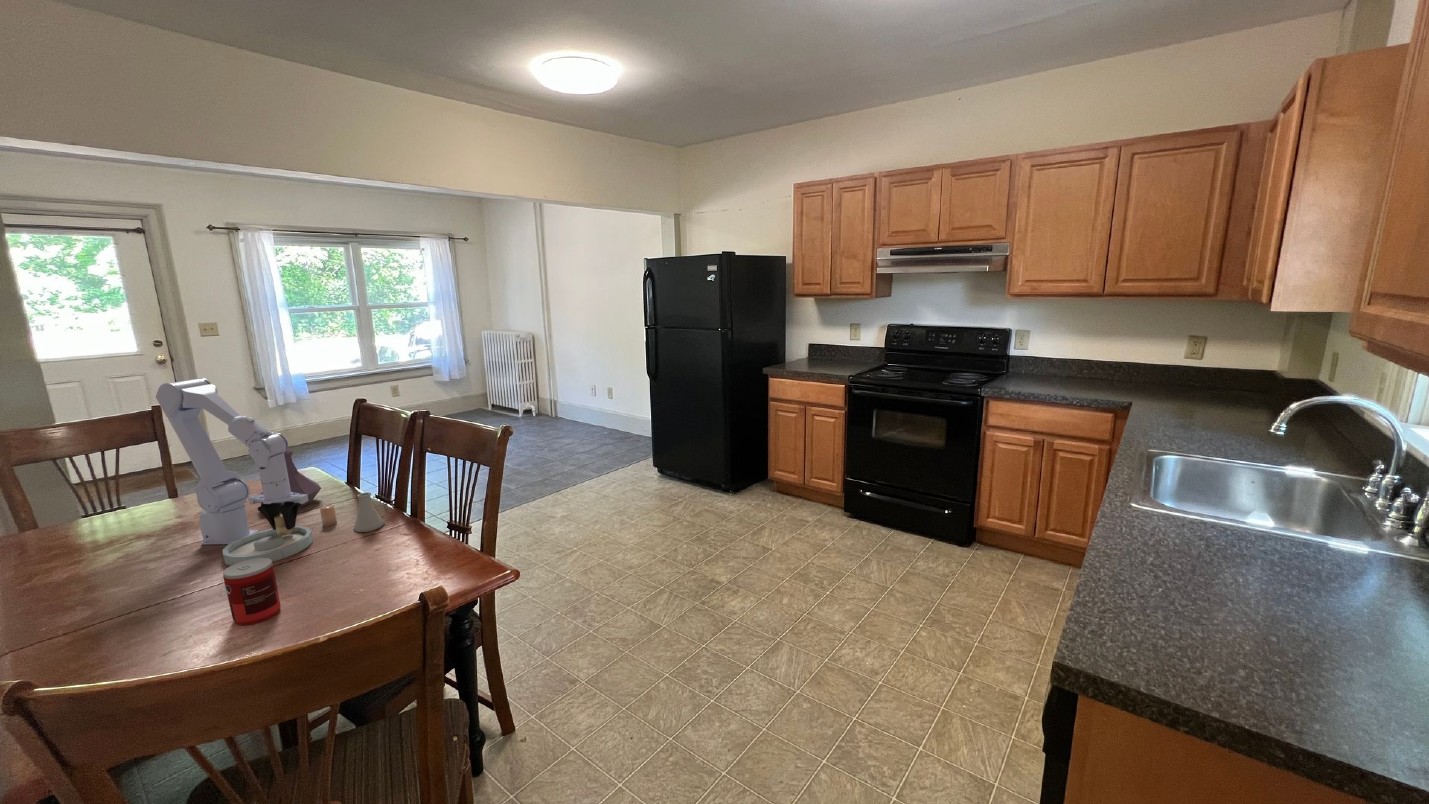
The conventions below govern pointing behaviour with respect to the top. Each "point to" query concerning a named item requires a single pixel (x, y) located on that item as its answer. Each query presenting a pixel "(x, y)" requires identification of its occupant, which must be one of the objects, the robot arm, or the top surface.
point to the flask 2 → (367, 515)
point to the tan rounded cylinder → (281, 526)
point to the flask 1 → (299, 480)
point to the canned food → (252, 591)
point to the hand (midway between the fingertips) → (284, 528)
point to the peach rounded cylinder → (328, 515)
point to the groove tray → (267, 545)
